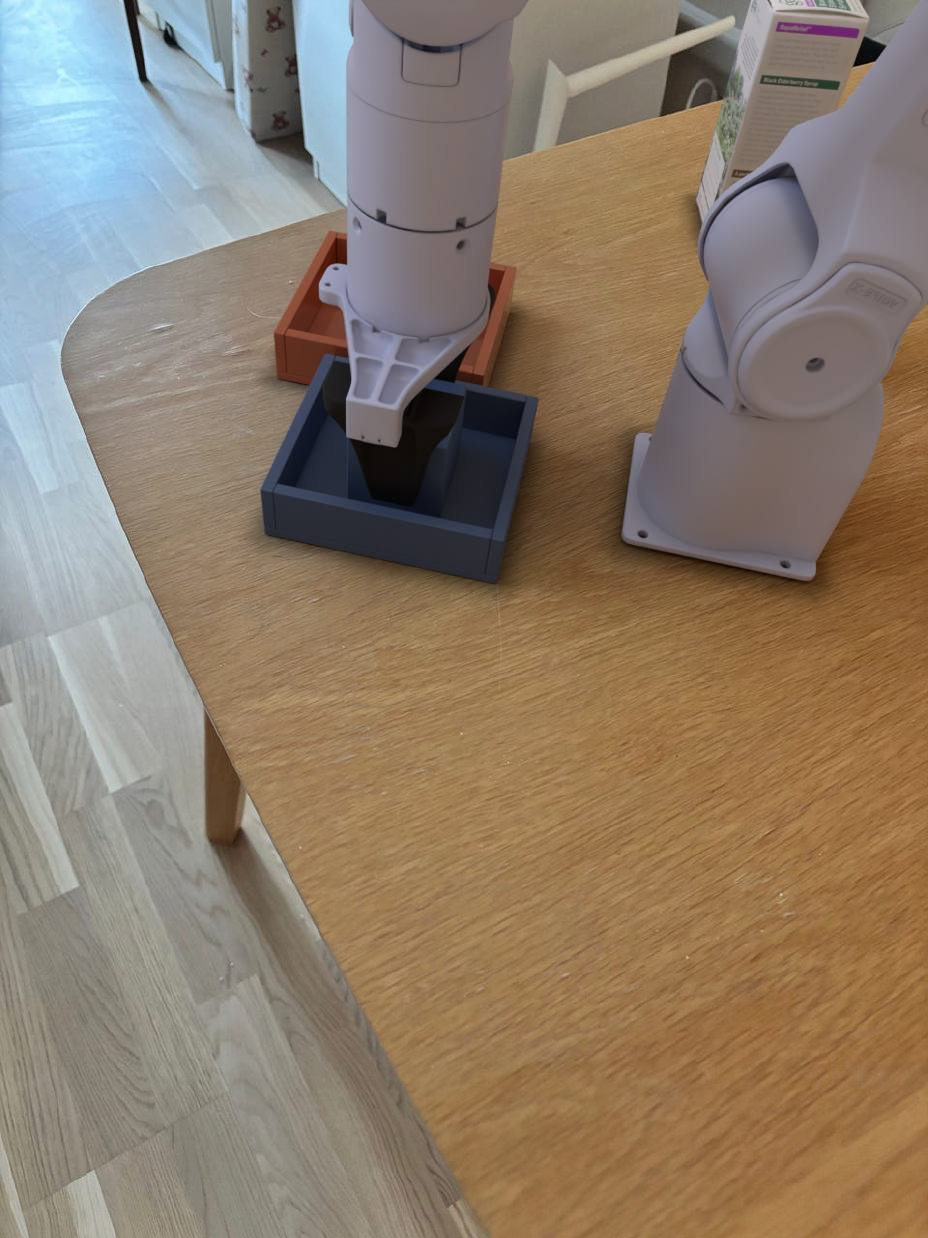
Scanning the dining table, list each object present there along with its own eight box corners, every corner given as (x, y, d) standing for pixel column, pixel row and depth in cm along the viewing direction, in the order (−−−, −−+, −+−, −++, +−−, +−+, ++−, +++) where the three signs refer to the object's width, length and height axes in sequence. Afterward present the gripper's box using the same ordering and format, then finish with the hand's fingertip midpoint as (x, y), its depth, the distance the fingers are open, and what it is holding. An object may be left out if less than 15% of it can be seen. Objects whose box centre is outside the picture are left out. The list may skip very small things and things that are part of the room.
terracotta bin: (510, 311, 59) (517, 266, 56) (478, 420, 52) (484, 375, 50) (329, 275, 59) (328, 229, 57) (276, 378, 53) (273, 332, 50)
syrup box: (787, 252, 65) (879, 15, 54) (700, 244, 65) (775, 4, 54) (771, 207, 69) (855, -25, 57) (690, 199, 69) (757, -35, 57)
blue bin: (530, 441, 52) (539, 396, 49) (496, 584, 45) (504, 541, 43) (325, 398, 52) (324, 352, 50) (264, 534, 46) (259, 489, 44)
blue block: (458, 456, 50) (467, 384, 46) (439, 520, 47) (446, 448, 43) (371, 438, 50) (372, 365, 46) (346, 500, 47) (346, 427, 43)
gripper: (369, 88, 41) (365, 352, 52) (257, 276, 32) (280, 548, 43) (532, 119, 41) (494, 378, 52) (464, 318, 32) (435, 581, 43)
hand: (406, 458), depth 47 cm, fingers open, 5 cm apart
